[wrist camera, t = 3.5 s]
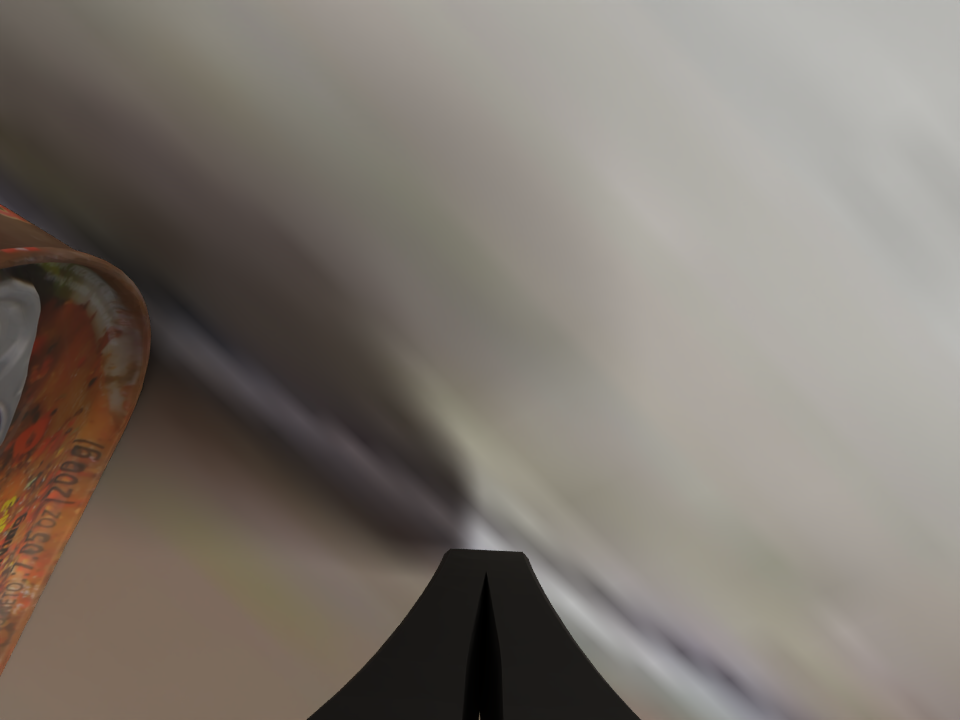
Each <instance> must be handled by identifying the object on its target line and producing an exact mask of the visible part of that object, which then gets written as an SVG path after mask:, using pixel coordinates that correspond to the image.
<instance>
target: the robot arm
mask: <svg viewBox="0 0 960 720" xmlns="http://www.w3.org/2000/svg"><path fill="white" fill-rule="evenodd" d="M479 713H480V720H641V719H640V718H639V717H638V716H637V715H636V714H635V713H634V712H633V711H632V710H631V709H630V708H629V707H628V706H627V705H626V703H625V702H624V701H623V700H622V699H621V698H620V697H619V696H618V695H617V694H616V692H615V691H614V690H613V689H612V688H611V687H610V685H609V684H608V683H607V682H606V681H605V680H604V678H603V677H602V676H601V675H600V673H599V672H598V671H597V670H596V668H595V667H594V666H593V664H592V663H591V662H590V660H589V659H588V658H587V656H586V655H585V654H584V653H583V651H582V650H581V649H580V647H579V646H578V644H577V643H576V641H575V640H574V639H573V637H572V636H571V634H570V633H569V631H568V630H567V628H566V627H565V625H564V624H563V622H562V620H561V619H560V617H559V616H558V614H557V613H556V611H555V610H554V608H553V606H552V605H551V603H550V601H549V600H548V598H547V596H546V594H545V592H544V591H543V589H542V587H541V585H540V583H539V581H538V579H537V577H536V575H535V573H534V571H533V569H532V567H531V564H530V562H529V559H528V558H527V557H526V555H525V554H524V553H523V552H512V551H491V550H470V549H450V550H449V551H448V552H446V553H445V554H444V556H443V558H442V561H441V563H440V565H439V567H438V569H437V570H436V572H435V574H434V576H433V577H432V579H431V581H430V582H429V584H428V585H427V587H426V588H425V590H424V592H423V593H422V595H421V596H420V597H419V599H418V600H417V602H416V603H415V604H414V606H413V607H412V609H411V610H410V611H409V613H408V614H407V616H406V617H405V618H404V620H403V621H402V622H401V624H400V625H399V626H398V627H397V628H396V630H395V631H394V632H393V633H392V634H391V636H390V637H389V638H388V639H387V641H386V642H385V643H384V644H383V645H382V647H381V648H380V649H379V650H378V651H377V652H376V654H375V655H374V656H373V657H372V658H371V659H370V660H369V661H368V662H367V663H366V665H365V666H364V667H363V668H362V669H361V670H360V671H359V672H358V673H357V674H356V675H355V676H354V677H353V678H352V679H351V680H350V681H349V682H348V683H347V684H346V685H345V686H344V687H343V688H342V689H341V690H340V691H338V692H337V693H336V694H335V695H334V696H333V697H332V698H331V699H330V700H328V701H327V702H326V703H325V704H324V705H323V706H322V707H320V708H319V709H318V710H317V711H316V712H315V713H314V714H312V715H311V716H310V717H309V718H308V719H307V720H479Z"/></svg>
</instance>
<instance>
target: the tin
mask: <svg viewBox="0 0 960 720" xmlns="http://www.w3.org/2000/svg"><path fill="white" fill-rule="evenodd" d="M150 344H151V327H150V318H149V314H148V310H147V306H146V303H145V301H144V299H143V297H142V294H141V292H140V291H139V289H138V288H137V287H136V285H135V284H134V282H133V281H132V280H131V279H130V278H129V277H128V276H127V275H126V274H125V273H124V272H123V271H122V270H120V269H119V268H117V267H115V266H114V265H112V264H110V263H109V262H107V261H105V260H103V259H100V258H98V257H95V256H92V255H90V254H87V253H84V252H80V251H76V250H74V249H72V248H71V247H69V246H67V245H66V244H64V243H63V242H61V241H59V240H58V239H56V238H55V237H53V236H51V235H50V234H48V233H47V232H45V231H43V230H42V229H40V228H39V227H37V226H35V225H34V224H32V223H30V222H29V221H27V220H26V219H24V218H22V217H21V216H19V215H18V214H16V213H14V212H13V211H11V210H10V209H8V208H6V207H4V206H3V205H1V204H0V676H1V674H2V672H3V669H4V667H5V665H6V663H7V661H8V660H9V658H10V656H11V654H12V652H13V650H14V648H15V646H16V644H17V642H18V640H19V638H20V636H21V633H22V631H23V629H24V627H25V625H26V623H27V621H28V620H29V618H30V616H31V614H32V612H33V610H34V608H35V606H36V604H37V601H38V599H39V598H40V596H41V594H42V592H43V590H44V588H45V586H46V584H47V582H48V580H49V578H50V576H51V574H52V572H53V570H54V568H55V566H56V564H57V562H58V560H59V558H60V556H61V554H62V552H63V550H64V548H65V546H66V544H67V542H68V540H69V538H70V536H71V534H72V533H73V531H74V529H75V527H76V525H77V524H78V522H79V520H80V518H81V516H82V514H83V512H84V510H85V508H86V506H87V503H88V501H89V499H90V497H91V495H92V493H93V491H94V489H95V488H96V486H97V484H98V481H99V479H100V477H101V475H102V473H103V471H104V470H105V468H106V466H107V464H108V462H109V460H110V458H111V456H112V454H113V452H114V450H115V448H116V446H117V444H118V442H119V440H120V438H121V436H122V434H123V432H124V430H125V428H126V426H127V424H128V421H129V419H130V417H131V415H132V413H133V410H134V408H135V406H136V403H137V400H138V397H139V395H140V392H141V390H142V386H143V382H144V378H145V374H146V370H147V365H148V361H149V355H150Z"/></svg>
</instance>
